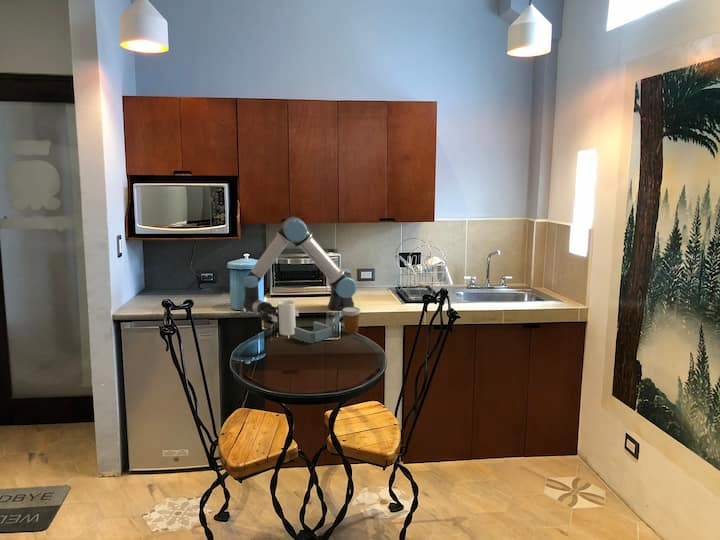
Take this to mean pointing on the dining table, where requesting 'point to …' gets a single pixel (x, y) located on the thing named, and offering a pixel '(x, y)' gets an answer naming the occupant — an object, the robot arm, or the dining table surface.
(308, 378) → the dining table surface
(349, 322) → the disposable coffee cup
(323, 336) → the end holder
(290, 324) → the cup
